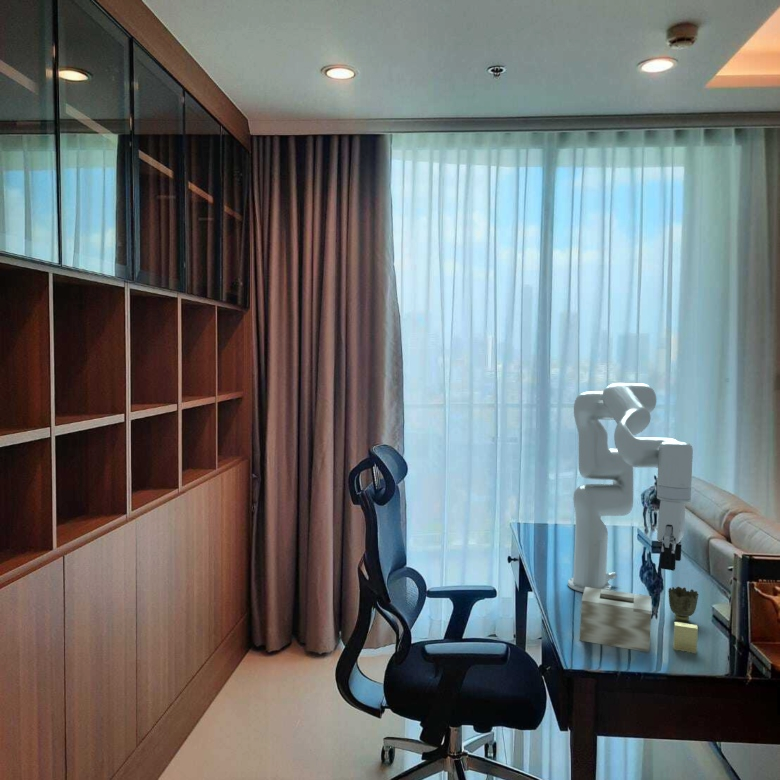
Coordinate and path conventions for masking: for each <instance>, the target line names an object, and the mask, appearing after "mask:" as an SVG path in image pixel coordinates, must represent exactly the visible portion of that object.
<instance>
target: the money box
mask: <svg viewBox="0 0 780 780" xmlns="http://www.w3.org/2000/svg"><path fill="white" fill-rule="evenodd" d="M582 593H583V594H582V597H581V605H580V606H581V607H580V623H579V624H580V627H579V641H581V642H587V643H594V644H598V645H605V646H610V647H615V648H621V649H628V650H634V651H641V652H645V653H650V646H651V645H650V644H651V628H652V626H651V625H652V624H651V623H652V596H651V595H645V594H638V593H631V592H625V591H617V590H612V589H611V590H604V589H597V588H590V587H585V590H584V592H582Z"/></svg>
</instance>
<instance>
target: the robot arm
mask: <svg viewBox="0 0 780 780" xmlns="http://www.w3.org/2000/svg"><path fill="white" fill-rule="evenodd" d="M656 405H657V396H656V393H655V390H654V389H653V388H652V387H651V386H650V385H649V384H646V383H631V382H628V383H627V382H626V383H625V382H617V383H615V382H614V383H611V384H609V385H607V386H606V387H605V388H604V389H603V390H601V391H600V390H594V391H593V390H592V391H585V392H582V393H579V394H578V395H577V397H576V398H575V400H574V403H573V416H574V420H575V424H576V429H577V432H578V433H577V434H578V436H577V437H578V471H579V475H580V476H581V477H582V478H584V479H587V480H596V481H597V480H598V481H601V480H602V481H603V480H604V481H611V480H612V483H611V484H609V483H606V484H605V483H603V484H602V483H586V484H582V485H579V486H577V487H576V489H575V490H574V491H573V498H572V499H573V505H574V506H573V507H574V514H575V515H574V516H575V519H574V521H575V526H574V527H575V530H574V531H575V532H574V554H573V555H574V556H573V574H572V575H573V577H571V578H569V579H568V580H567V586H568V587H569V588H571V589H572V590H574V591H576V592H581V593H584V590H585V587H590V588H597V589H604V590H611V591H612V586H611V584H610V583H609V581H610V580H616V578H618V576H617V573H616V572H615V571H614V572H609V573H608V572H607V565H608V564H607V562H608V543H609V542H608V540H609V532H608V528H607V527H606V526H607V525H605V522H604V521H603V520H602V518H601V517H624V516H628V515H629V514H630V513H631V511H632V509H633V506H634V468H657V480H656V481H657V482H656V498H657V500H660V503H659V508H658V509H659V511H658V521H657V532H656V533H657V534H656V541H658V542H661V541H662V542H661V543H662V545H661V551H660V561H659V563H660V564H659V565H660V566H659V567H660V569H662V570H667V571H675V570H676V564H677V563H676V562H681V560H682V539H683V537H684V534H685V533H684V532H685V531H684V530H685V521H686V519H685V518H686V503H689V502H691V501H692V500H691V499H692V479H693V477H692V475H693V457H694V456H693V455H694V454H693V452H694V449H693V446H692V445H691V444H690V443H688V442H685V441H679V440H677V439H675V438H671V437H653V436H652V437H649V436H638V437H637V436H636V435H638V434H640V433H642V432H643V431H645V430H646V429H647V428H648V426H649V425H650V423H651V413H652V412H653V411H654V410H655V408H656ZM601 420H605V421H615V422H616V424H617V425H616V426H615V428H614V434H613V435H614V436H613V438H614V445H615V448H609V445H608V439H609V437H608V432H607V429H606V428H605V426H604V425H603V424H602V422H601Z"/></svg>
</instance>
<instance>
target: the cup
mask: <svg viewBox="0 0 780 780" xmlns="http://www.w3.org/2000/svg"><path fill="white" fill-rule="evenodd" d="M698 600H699V593H698V590H697V591H696V590H694V589H693V588H692V589H690V590H687V588H686V587H683V588H682V587H680V586H677V587H674V586H672V588H671V587H669V588H668V603H669V609H670V610H671V612H672V613H673V614H674V619H675V620H676V621H677V622H680V623H687V622H689V621H690V616H693V615H694V613H696V612H695V611H696V610H697V604H698Z"/></svg>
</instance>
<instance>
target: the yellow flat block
mask: <svg viewBox="0 0 780 780" xmlns="http://www.w3.org/2000/svg"><path fill="white" fill-rule="evenodd" d="M673 624H674V626H673V642H672V643H673V644H672V646H673V650H674V651H678V650H681V651H680V652H684V651H687V652H686V653H690V652H692V654H697V653H698V652H697V649H698V648H697V647H698V635H699V634H698V633H699V632H698V630H699V629H698V624H692V623H691V624H690V623H687V622H680V621H674V623H673Z"/></svg>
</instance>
